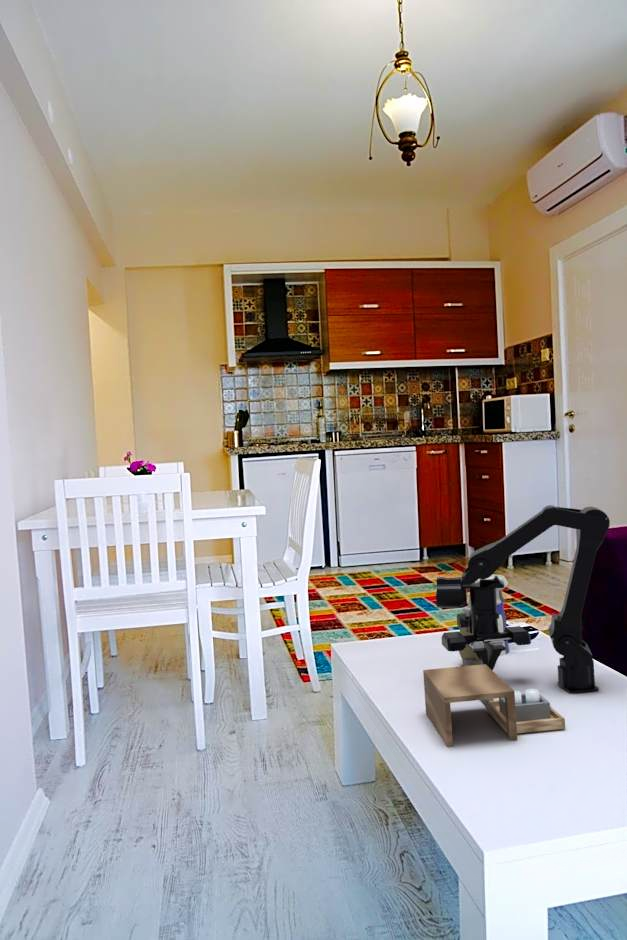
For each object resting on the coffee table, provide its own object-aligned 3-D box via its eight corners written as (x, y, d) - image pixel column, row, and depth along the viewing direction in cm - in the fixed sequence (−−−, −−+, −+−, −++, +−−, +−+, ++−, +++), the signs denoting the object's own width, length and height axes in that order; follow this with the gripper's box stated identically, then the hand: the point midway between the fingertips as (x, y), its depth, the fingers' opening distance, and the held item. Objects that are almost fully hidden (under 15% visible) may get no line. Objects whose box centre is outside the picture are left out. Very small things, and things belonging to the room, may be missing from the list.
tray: (538, 707, 136) (537, 685, 136) (550, 718, 131) (549, 694, 131) (499, 711, 136) (498, 688, 136) (509, 722, 130) (508, 698, 130)
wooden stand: (488, 707, 141) (485, 664, 141) (517, 739, 125) (514, 691, 125) (425, 713, 140) (423, 670, 140) (447, 747, 124) (444, 697, 124)
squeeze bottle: (487, 673, 162) (483, 597, 161) (454, 669, 166) (450, 595, 165) (498, 662, 169) (493, 590, 168) (466, 659, 173) (461, 588, 172)
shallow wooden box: (511, 680, 155) (510, 654, 155) (565, 728, 128) (563, 696, 128) (464, 684, 154) (462, 658, 154) (507, 734, 127) (505, 702, 127)
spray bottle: (505, 657, 172) (499, 558, 171) (473, 654, 177) (467, 557, 176) (515, 648, 179) (510, 553, 178) (483, 645, 184) (478, 552, 183)
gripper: (511, 596, 161) (515, 662, 162) (433, 602, 160) (437, 669, 160) (529, 606, 150) (533, 677, 151) (446, 614, 149) (450, 685, 149)
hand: (487, 676), depth 153 cm, fingers closed
